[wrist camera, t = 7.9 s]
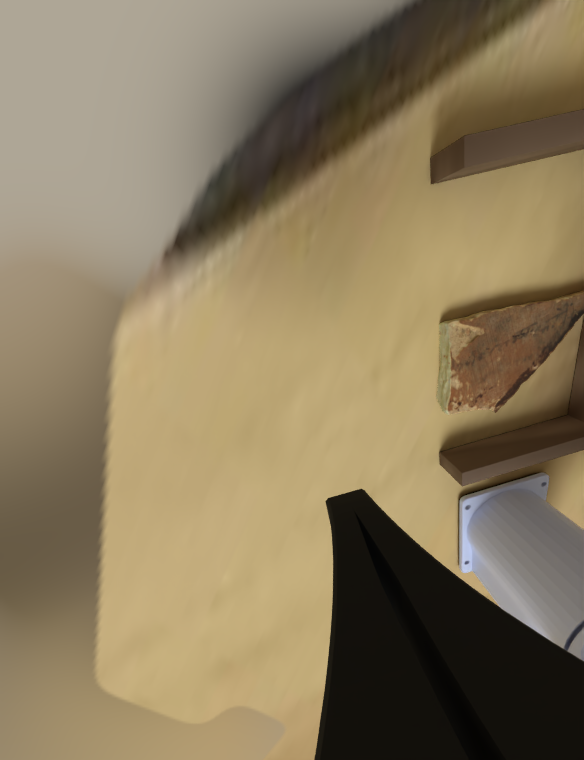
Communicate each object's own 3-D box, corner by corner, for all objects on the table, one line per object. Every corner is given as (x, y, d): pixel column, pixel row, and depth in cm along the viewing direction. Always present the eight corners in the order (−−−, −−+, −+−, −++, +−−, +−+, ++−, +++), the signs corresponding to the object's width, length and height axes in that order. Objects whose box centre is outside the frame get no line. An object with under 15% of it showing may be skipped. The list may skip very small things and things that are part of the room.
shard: (580, 287, 19) (612, 288, 18) (558, 388, 22) (584, 397, 20) (433, 315, 18) (452, 319, 17) (430, 416, 21) (446, 428, 20)
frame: (578, 423, 23) (615, 440, 21) (439, 464, 22) (462, 486, 20) (637, 110, 15) (706, 81, 13) (430, 157, 15) (464, 135, 12)
